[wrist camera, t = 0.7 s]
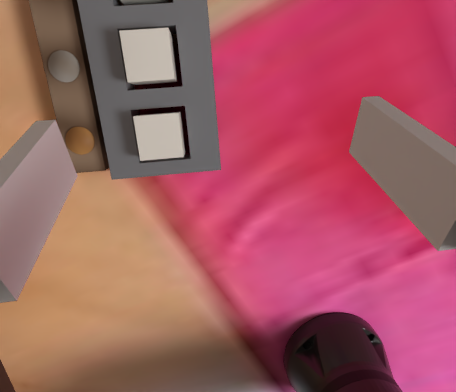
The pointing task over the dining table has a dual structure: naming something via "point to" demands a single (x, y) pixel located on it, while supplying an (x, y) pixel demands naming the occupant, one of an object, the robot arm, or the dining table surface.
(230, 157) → the dining table surface
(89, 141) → the pattern sign
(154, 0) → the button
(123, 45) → the middle button
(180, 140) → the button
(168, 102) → the button panel
